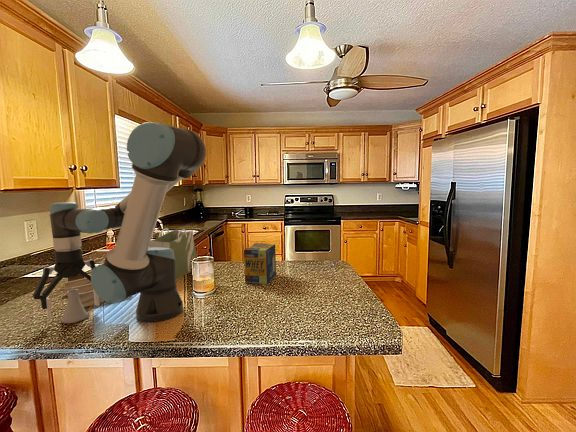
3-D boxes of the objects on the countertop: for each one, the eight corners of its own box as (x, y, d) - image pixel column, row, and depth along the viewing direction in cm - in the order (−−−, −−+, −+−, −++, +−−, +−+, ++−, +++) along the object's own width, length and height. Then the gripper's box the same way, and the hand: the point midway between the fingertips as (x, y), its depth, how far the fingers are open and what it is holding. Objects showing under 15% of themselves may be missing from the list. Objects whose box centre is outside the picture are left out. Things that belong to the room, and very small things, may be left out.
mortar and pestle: (82, 282, 144) (79, 245, 142) (66, 284, 141) (62, 246, 139) (86, 278, 150) (82, 242, 148) (70, 280, 147) (66, 243, 146)
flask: (74, 324, 99) (71, 295, 98) (56, 323, 100) (53, 294, 99) (93, 315, 106) (90, 287, 105) (75, 314, 107) (73, 286, 106)
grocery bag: (174, 283, 140) (170, 233, 137) (145, 282, 141) (141, 233, 139) (201, 264, 171) (198, 223, 169) (177, 264, 173) (174, 224, 170)
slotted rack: (131, 294, 126) (130, 281, 126) (80, 307, 113) (79, 294, 112) (112, 283, 141) (111, 272, 140) (65, 294, 128) (64, 282, 127)
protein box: (244, 283, 136) (243, 249, 134) (256, 273, 151) (255, 242, 149) (267, 285, 133) (265, 250, 132) (276, 274, 148) (275, 243, 146)
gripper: (106, 241, 112) (110, 297, 115) (16, 254, 94) (24, 320, 96) (113, 244, 107) (118, 302, 110) (20, 258, 89) (28, 327, 91)
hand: (74, 310), depth 103 cm, fingers open, 13 cm apart
